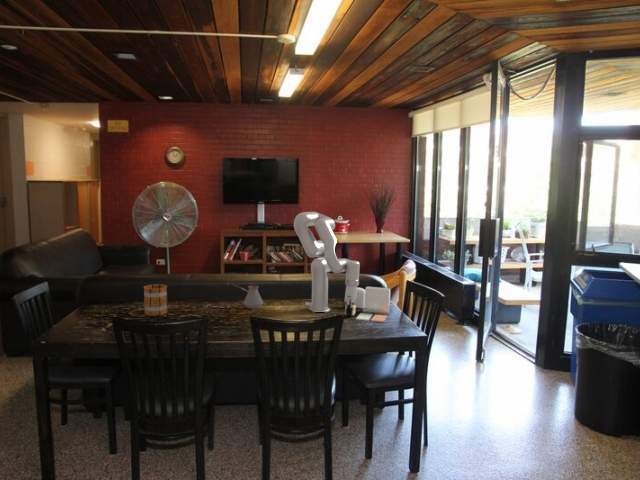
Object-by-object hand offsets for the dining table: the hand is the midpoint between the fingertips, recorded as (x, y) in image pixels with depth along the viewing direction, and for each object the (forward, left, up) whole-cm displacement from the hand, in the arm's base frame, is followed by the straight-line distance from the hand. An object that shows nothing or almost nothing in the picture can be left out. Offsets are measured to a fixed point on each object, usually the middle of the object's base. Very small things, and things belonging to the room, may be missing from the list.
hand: (350, 313), depth 283 cm
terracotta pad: (+17, 0, -2) cm, 17 cm away
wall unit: (+13, +14, -2) cm, 19 cm away
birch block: (0, 0, -1) cm, 1 cm away
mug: (-106, -32, -2) cm, 111 cm away
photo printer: (-1, +21, -2) cm, 21 cm away
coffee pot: (-64, -5, -2) cm, 64 cm away
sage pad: (+8, 0, -2) cm, 9 cm away
